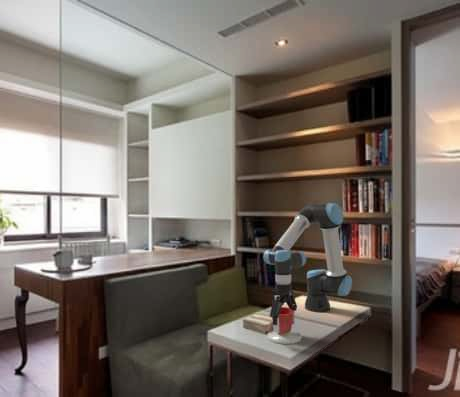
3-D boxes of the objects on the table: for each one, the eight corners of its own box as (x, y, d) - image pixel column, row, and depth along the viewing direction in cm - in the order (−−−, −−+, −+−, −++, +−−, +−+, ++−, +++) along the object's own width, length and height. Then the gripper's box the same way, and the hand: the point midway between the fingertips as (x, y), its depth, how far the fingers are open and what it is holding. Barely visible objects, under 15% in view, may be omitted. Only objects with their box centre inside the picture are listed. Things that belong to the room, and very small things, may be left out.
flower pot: (276, 324, 173) (275, 305, 173) (297, 327, 168) (295, 307, 168) (268, 333, 164) (266, 313, 164) (290, 336, 159) (288, 315, 158)
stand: (259, 320, 188) (259, 313, 188) (280, 326, 178) (280, 318, 178) (243, 327, 177) (243, 319, 177) (265, 333, 168) (264, 325, 168)
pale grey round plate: (279, 329, 174) (279, 327, 174) (307, 336, 163) (307, 334, 163) (260, 338, 162) (260, 336, 162) (289, 347, 151) (289, 344, 151)
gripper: (290, 277, 175) (291, 319, 175) (261, 286, 157) (262, 333, 156) (303, 279, 170) (304, 322, 170) (275, 289, 152) (276, 337, 151)
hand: (284, 327), depth 163 cm, fingers open, 13 cm apart
